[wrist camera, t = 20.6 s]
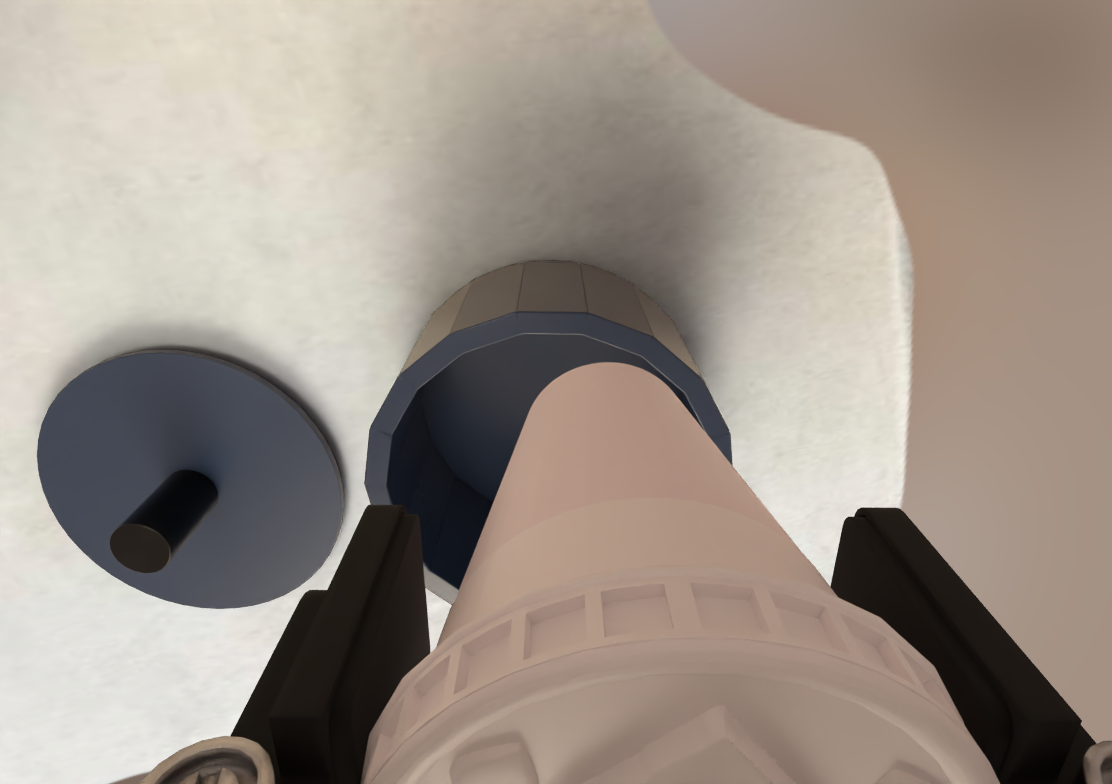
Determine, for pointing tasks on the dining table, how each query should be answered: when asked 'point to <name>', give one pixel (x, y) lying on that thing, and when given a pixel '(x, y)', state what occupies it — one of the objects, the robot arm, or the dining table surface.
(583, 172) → the dining table surface
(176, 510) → the pot lid
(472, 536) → the pot
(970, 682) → the robot arm
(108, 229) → the dining table surface
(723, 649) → the smoothie
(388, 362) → the dining table surface
